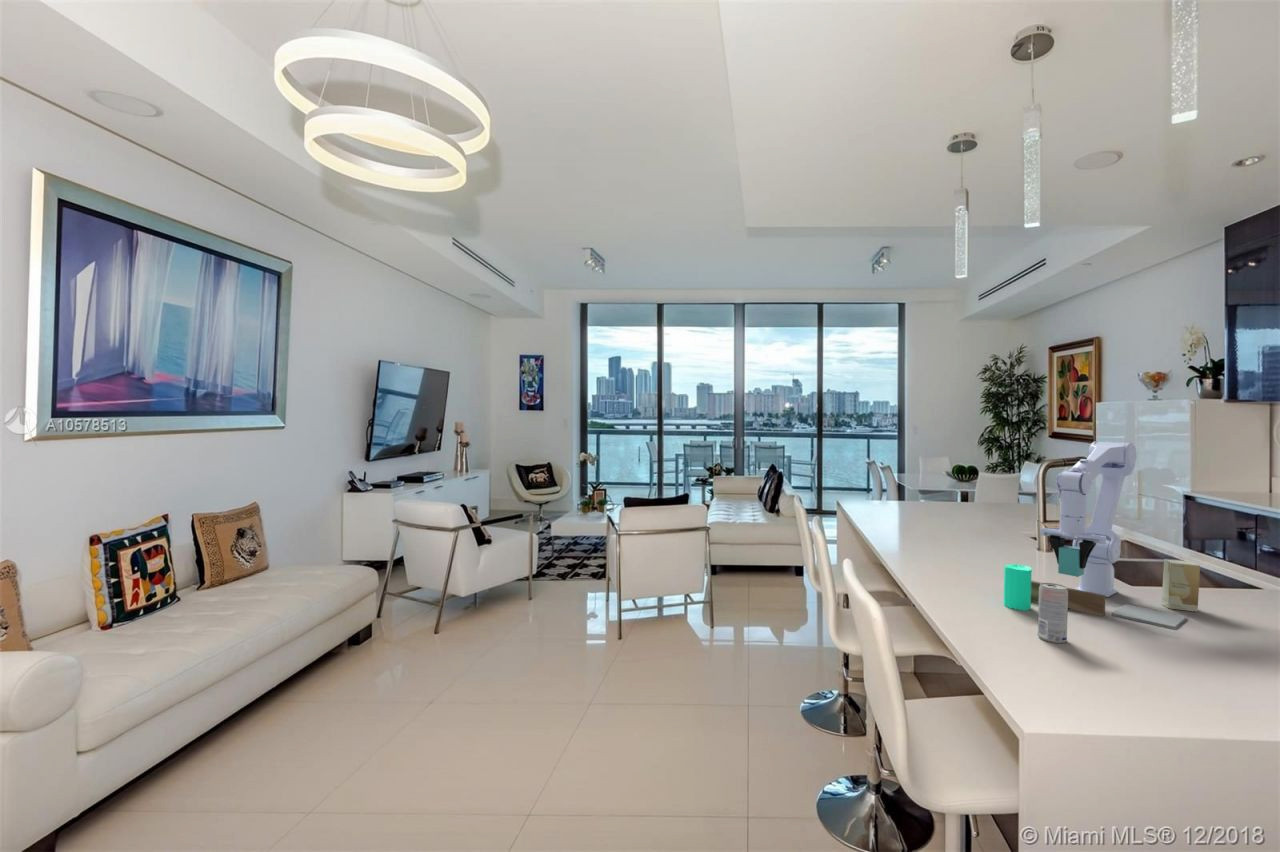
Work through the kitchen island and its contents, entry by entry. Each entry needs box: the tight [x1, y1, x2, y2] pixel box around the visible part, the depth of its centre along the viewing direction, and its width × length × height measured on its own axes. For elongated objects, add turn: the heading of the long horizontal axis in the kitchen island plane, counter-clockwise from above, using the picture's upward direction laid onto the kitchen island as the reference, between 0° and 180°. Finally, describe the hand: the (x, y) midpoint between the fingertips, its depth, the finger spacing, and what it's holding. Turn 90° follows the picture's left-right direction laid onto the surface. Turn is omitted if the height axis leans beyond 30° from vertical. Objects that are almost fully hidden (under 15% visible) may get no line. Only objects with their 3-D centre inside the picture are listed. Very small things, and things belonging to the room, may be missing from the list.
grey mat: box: [1111, 603, 1187, 630], centre depth 148 cm, size 12×12×1 cm
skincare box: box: [1161, 558, 1201, 613], centre depth 155 cm, size 6×4×12 cm
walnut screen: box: [1031, 579, 1107, 617], centre depth 156 cm, size 2×20×5 cm, turn 37°
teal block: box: [1057, 545, 1084, 578], centre depth 161 cm, size 4×4×7 cm
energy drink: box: [1037, 582, 1069, 644], centre depth 132 cm, size 5×5×12 cm
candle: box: [1003, 563, 1032, 611], centre depth 155 cm, size 6×6×12 cm
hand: (1071, 565), depth 161 cm, fingers closed on teal block, 4 cm apart
